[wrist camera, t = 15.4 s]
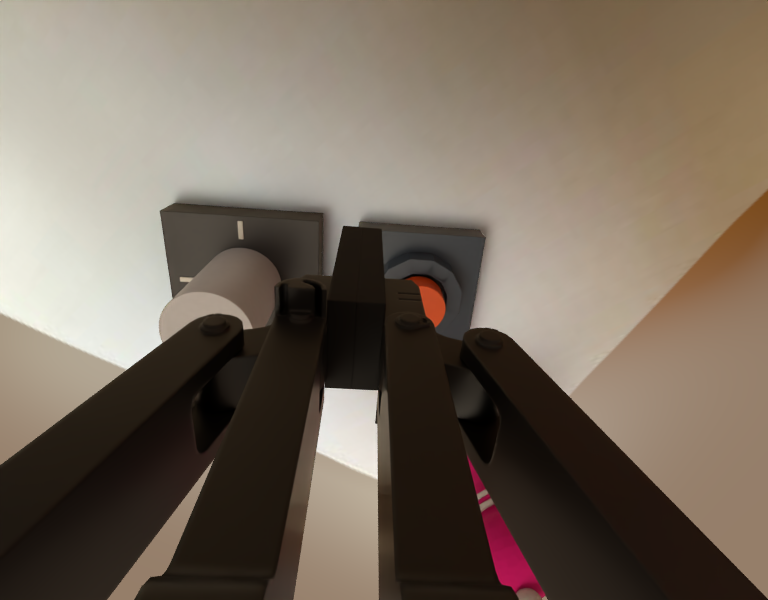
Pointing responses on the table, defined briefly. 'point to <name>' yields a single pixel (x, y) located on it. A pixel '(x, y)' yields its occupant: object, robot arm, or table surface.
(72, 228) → the table surface
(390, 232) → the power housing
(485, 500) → the pepper mill
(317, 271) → the panel
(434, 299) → the power button
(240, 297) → the timer dial
